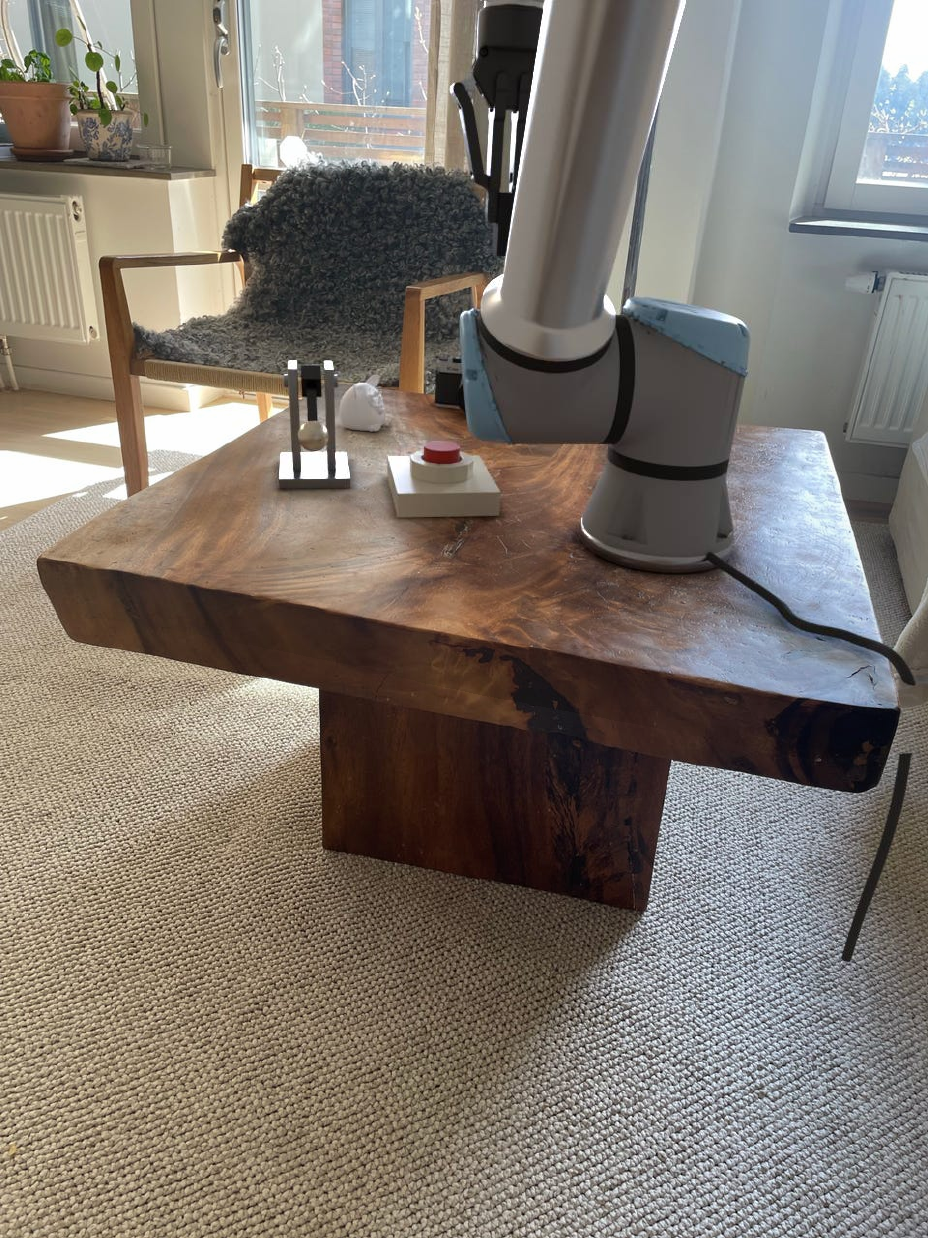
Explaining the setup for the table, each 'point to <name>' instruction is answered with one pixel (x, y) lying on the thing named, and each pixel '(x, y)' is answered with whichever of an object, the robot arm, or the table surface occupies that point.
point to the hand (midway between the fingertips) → (500, 254)
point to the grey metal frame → (313, 466)
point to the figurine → (363, 407)
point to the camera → (449, 383)
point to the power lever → (312, 410)
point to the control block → (441, 487)
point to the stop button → (442, 452)
